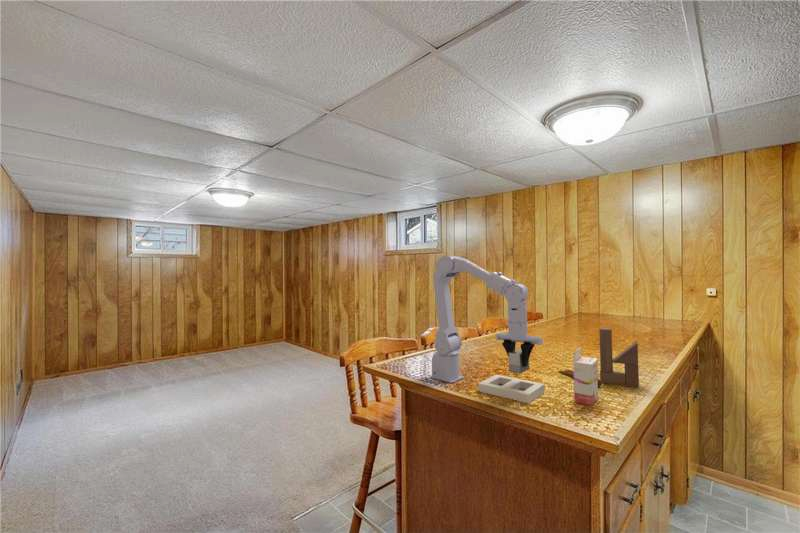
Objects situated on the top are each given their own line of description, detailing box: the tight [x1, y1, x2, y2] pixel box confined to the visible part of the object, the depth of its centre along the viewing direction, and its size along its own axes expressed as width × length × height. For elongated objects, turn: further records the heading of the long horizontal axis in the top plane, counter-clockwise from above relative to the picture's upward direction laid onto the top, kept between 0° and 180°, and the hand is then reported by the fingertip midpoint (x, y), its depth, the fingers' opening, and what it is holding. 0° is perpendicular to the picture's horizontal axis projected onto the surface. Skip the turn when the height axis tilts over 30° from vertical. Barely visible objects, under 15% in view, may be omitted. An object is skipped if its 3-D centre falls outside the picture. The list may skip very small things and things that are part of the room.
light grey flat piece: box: [477, 373, 546, 404], centre depth 111 cm, size 16×12×2 cm
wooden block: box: [598, 327, 640, 388], centre depth 116 cm, size 4×11×18 cm, turn 61°
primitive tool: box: [557, 369, 602, 389], centre depth 122 cm, size 19×6×4 cm, turn 9°
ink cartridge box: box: [572, 346, 599, 407], centre depth 103 cm, size 9×5×15 cm, turn 141°
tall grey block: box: [508, 348, 530, 375], centre depth 111 cm, size 4×7×6 cm, turn 138°
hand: (518, 365), depth 110 cm, fingers closed on tall grey block, 3 cm apart
